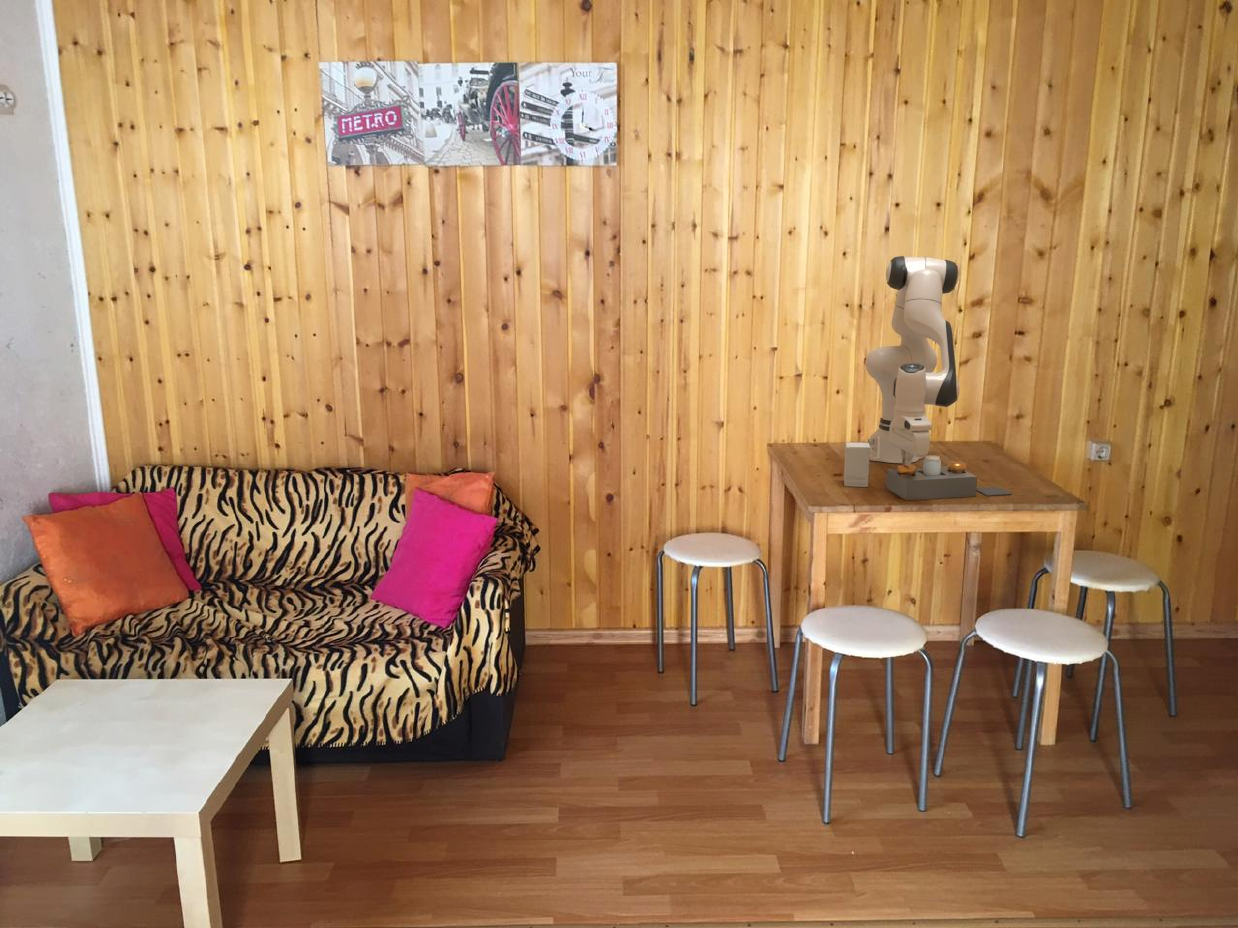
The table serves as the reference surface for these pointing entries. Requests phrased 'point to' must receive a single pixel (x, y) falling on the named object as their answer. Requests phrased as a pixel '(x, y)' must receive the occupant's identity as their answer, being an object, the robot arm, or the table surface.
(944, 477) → the block
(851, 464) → the supplement box
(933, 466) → the block
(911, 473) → the plunger
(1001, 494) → the mat
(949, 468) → the plunger
